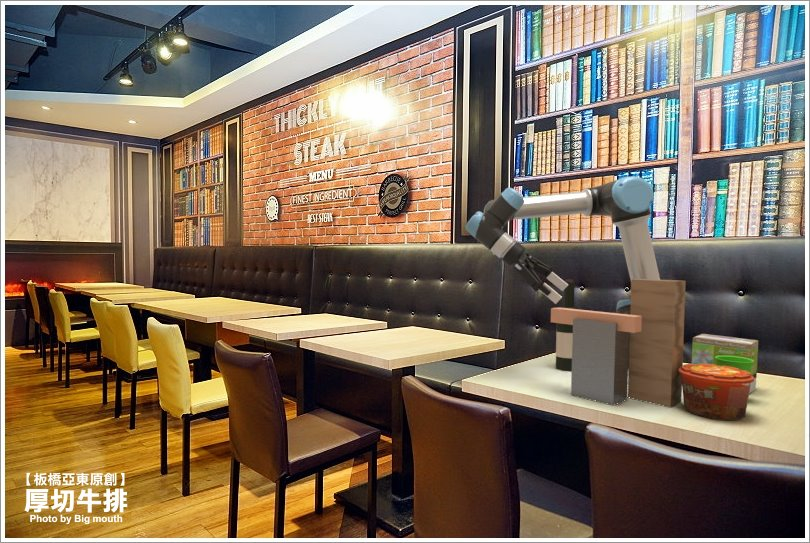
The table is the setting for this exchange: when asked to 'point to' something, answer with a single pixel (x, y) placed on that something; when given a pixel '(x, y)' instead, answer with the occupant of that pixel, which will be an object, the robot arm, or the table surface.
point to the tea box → (724, 350)
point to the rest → (599, 361)
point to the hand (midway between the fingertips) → (562, 294)
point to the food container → (715, 390)
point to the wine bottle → (565, 333)
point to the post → (657, 341)
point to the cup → (735, 362)
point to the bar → (597, 318)
